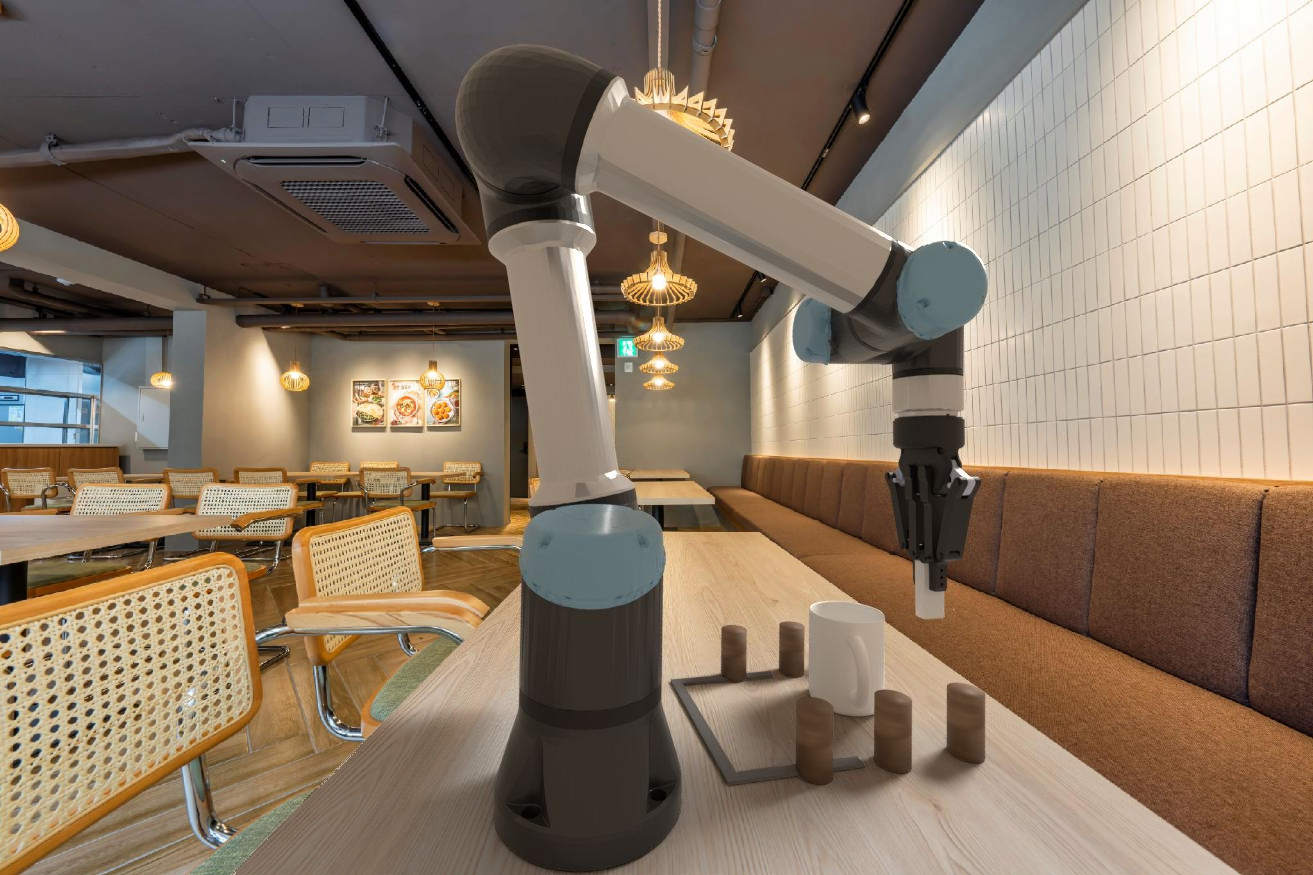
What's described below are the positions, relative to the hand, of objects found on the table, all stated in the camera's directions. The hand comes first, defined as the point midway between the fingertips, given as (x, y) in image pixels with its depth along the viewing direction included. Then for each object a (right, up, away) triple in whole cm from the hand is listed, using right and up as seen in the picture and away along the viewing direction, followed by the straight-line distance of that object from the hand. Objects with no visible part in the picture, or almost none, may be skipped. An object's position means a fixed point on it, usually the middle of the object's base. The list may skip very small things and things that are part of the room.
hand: (929, 616), depth 61 cm
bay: (-21, -9, -5) cm, 24 cm away
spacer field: (-12, -9, -3) cm, 16 cm away
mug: (-10, -10, -2) cm, 14 cm away
